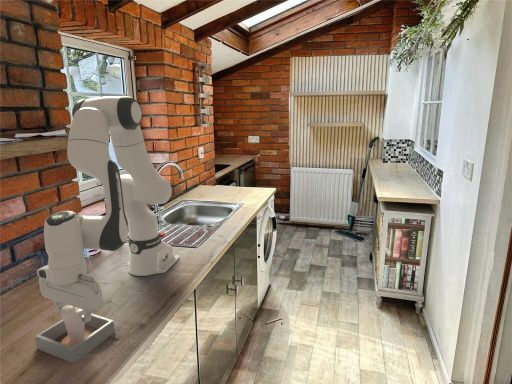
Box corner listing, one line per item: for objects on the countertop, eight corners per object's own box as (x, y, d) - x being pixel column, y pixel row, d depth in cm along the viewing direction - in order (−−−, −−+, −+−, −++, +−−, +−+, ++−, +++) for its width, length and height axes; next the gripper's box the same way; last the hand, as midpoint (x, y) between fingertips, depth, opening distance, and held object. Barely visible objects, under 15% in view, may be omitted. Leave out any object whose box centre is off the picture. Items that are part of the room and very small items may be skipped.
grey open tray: (80, 320, 108) (79, 309, 107) (114, 332, 102) (113, 320, 101) (37, 348, 95) (35, 336, 94) (73, 363, 90) (71, 350, 89)
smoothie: (93, 331, 102) (88, 288, 98) (83, 346, 96) (77, 300, 92) (71, 331, 102) (65, 288, 98) (59, 346, 95) (53, 300, 92)
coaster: (79, 328, 104) (79, 327, 104) (99, 335, 101) (98, 334, 101) (54, 345, 97) (54, 343, 96) (75, 353, 93) (75, 351, 93)
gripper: (106, 273, 92) (111, 319, 96) (53, 260, 100) (59, 303, 104) (86, 284, 87) (92, 332, 90) (32, 269, 95) (39, 314, 98)
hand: (74, 316), depth 97 cm, fingers open, 8 cm apart
